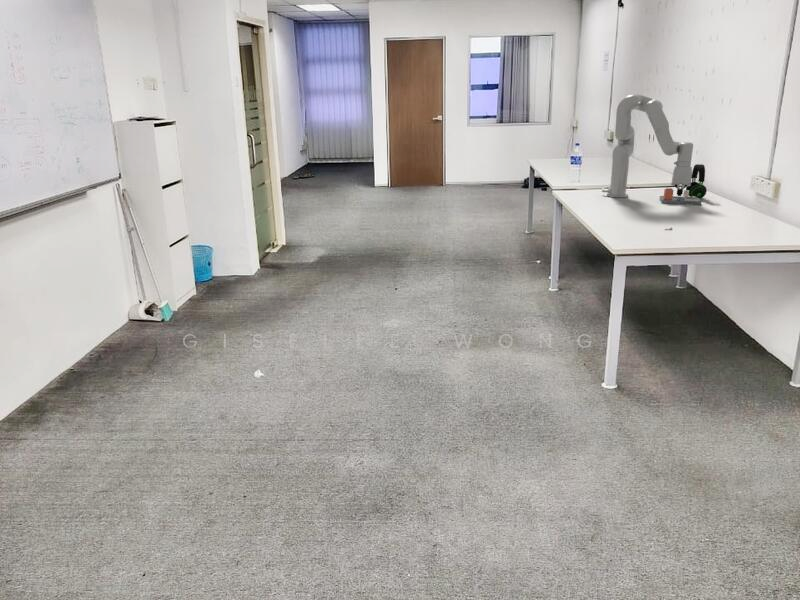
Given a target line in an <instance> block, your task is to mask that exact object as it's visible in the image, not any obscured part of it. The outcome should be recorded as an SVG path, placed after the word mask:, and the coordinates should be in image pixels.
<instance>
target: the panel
mask: <svg viewBox="0 0 800 600" xmlns="http://www.w3.org/2000/svg"><path fill="white" fill-rule="evenodd" d="M663 197H664V195H659V201H660V203H661V204H662V203H666V205H686V204H693V205H692V206H701V205H702V200H700V199H701V198H700V199H699V198H698V197H696V196H692V197H690V196H688V197H685V196H678V195H677V196H674V195H673V198H672V200H665V199H663Z"/></svg>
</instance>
